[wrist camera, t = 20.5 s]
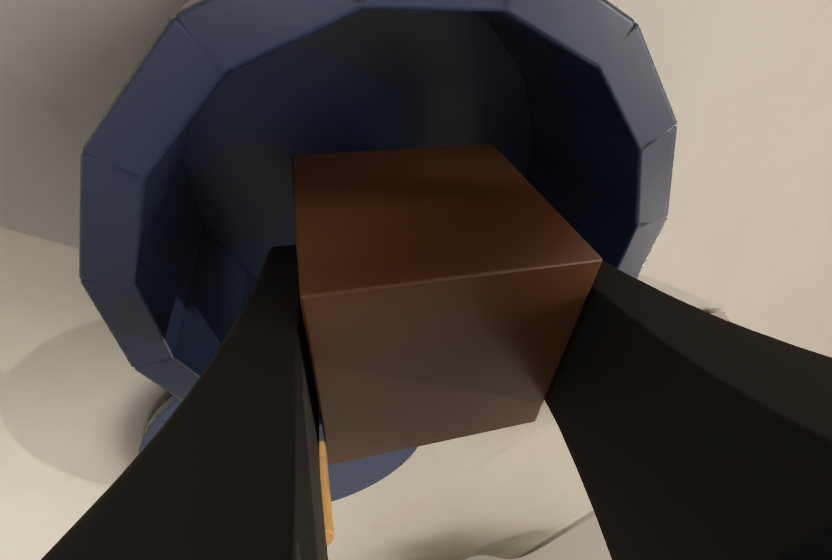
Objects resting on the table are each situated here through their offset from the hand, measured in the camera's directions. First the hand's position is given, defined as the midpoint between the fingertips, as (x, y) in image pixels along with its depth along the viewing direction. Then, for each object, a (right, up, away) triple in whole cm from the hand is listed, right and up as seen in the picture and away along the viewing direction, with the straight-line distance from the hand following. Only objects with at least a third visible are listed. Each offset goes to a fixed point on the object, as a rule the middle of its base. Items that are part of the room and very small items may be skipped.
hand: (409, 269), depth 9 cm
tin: (-1, +3, +4) cm, 5 cm away
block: (0, +1, +1) cm, 1 cm away
